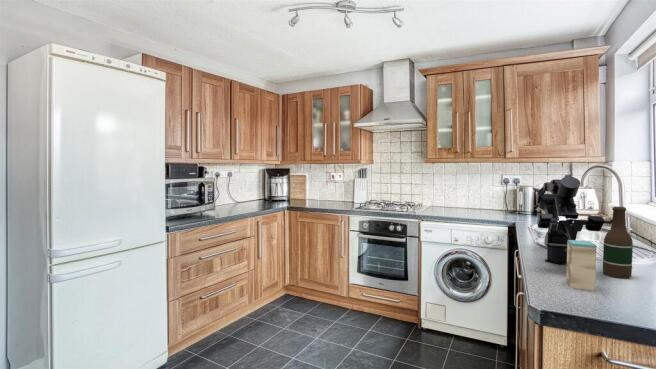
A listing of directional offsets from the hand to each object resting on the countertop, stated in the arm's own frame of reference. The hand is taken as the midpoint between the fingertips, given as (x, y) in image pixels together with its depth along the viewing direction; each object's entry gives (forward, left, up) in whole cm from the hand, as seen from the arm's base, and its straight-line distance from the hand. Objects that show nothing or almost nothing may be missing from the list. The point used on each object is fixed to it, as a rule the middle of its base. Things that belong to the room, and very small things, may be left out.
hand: (573, 242), depth 113 cm
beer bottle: (+6, +16, -12) cm, 22 cm away
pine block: (+5, -7, -12) cm, 15 cm away
